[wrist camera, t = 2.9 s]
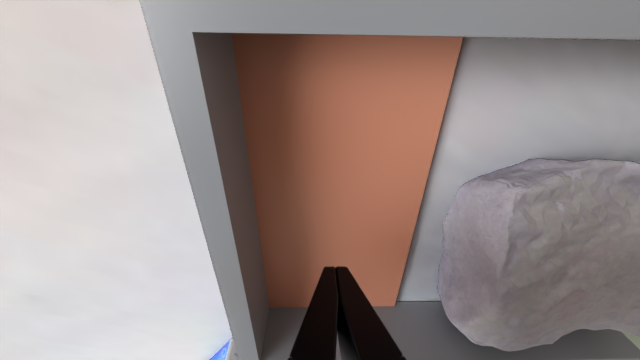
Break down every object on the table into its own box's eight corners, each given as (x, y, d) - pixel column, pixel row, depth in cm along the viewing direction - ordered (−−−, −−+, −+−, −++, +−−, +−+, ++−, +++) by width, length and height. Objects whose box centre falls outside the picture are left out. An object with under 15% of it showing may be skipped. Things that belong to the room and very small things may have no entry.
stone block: (433, 152, 13) (427, 302, 17) (497, 180, 9) (472, 380, 12) (653, 130, 14) (606, 283, 17) (827, 146, 9) (718, 353, 12)
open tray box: (776, 307, 18) (872, 363, 15) (256, 312, 17) (243, 374, 14) (1197, 17, 9) (1632, 7, 6) (198, -2, 8) (132, -24, 5)
